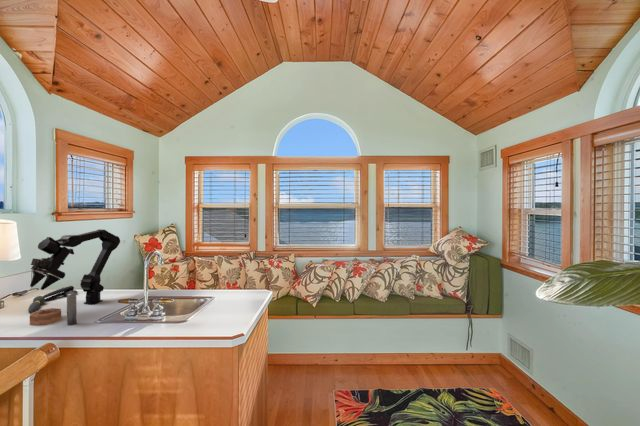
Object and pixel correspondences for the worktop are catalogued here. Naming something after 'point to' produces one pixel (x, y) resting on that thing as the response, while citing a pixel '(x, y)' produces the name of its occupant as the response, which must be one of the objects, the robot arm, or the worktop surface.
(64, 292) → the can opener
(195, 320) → the worktop surface
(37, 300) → the paintbrush
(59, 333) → the worktop surface
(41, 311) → the bead
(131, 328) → the worktop surface
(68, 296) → the brushed steel cylinder
